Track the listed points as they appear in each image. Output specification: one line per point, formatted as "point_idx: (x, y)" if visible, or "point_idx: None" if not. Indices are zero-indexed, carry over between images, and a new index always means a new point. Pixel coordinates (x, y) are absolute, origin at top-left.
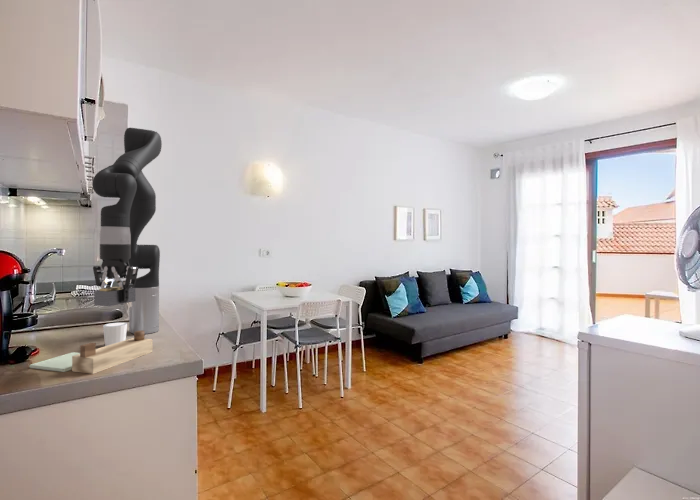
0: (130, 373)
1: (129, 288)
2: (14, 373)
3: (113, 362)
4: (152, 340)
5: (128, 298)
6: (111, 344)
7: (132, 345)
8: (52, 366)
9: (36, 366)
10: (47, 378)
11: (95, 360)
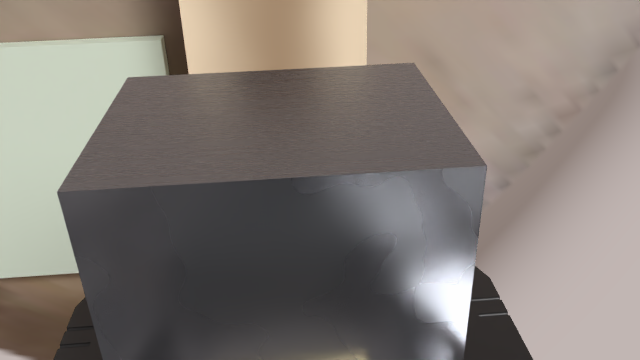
0: (520, 172)
1: (444, 286)
2: (7, 329)
3: None
4: None
5: (488, 278)
6: (186, 40)
7: (360, 9)
8: None
9: (13, 275)
10: None
11: None
